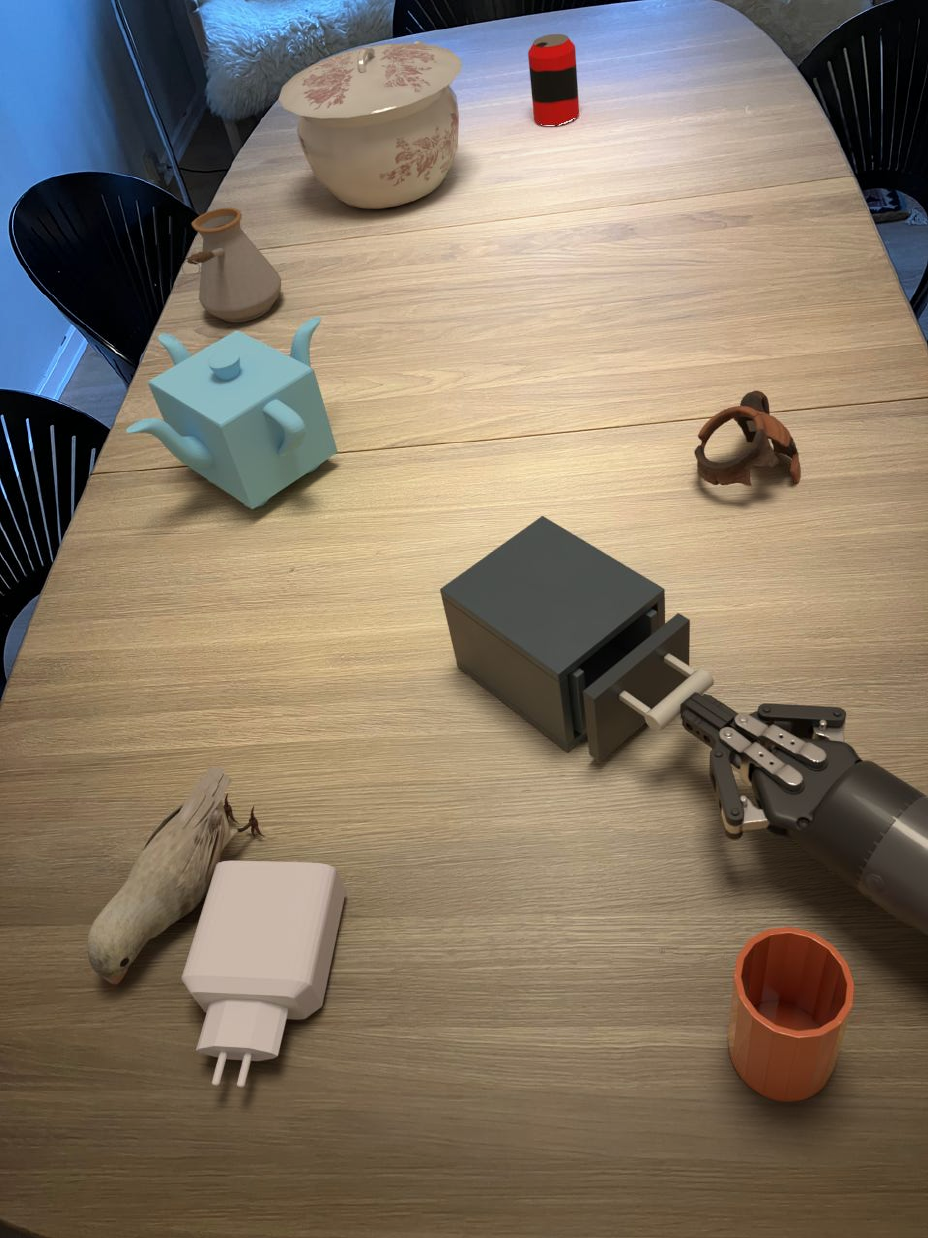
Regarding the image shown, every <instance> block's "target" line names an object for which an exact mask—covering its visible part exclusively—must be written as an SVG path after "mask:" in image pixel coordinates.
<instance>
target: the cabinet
mask: <svg viewBox="0 0 928 1238" xmlns="http://www.w3.org/2000/svg"><path fill="white" fill-rule="evenodd" d="M439 591H440V596H441V601H442V606H443V608H444V614H445V618H446V623H447V627H448V631H449V632H448V633H449V635H450V640H451V644H452V648H453V654H454V658H455V662H456V666H457V668H458V669H460V670H461V671H462V672H464V673H465V674H466V675H467V676H468V677H470V678H471V679H472V680H473V681H475V682H476V683H478V684H479V685H480V686H482V687H483V689H485V690H487V691H488V692H489V693H491V694H492V695H493V696H494V697H496V698H497V699H498V700H499V701H501V702H502V703H503V704H504V705H506V706H507V707H509V708H510V709H511V710H512V711H514V712H515V713H516V714H518V715H519V716H520V717H521V718H522V719H524V720H525V721H527V722H528V723H529V724H530V725H532V726H533V727H534V728H535V729H537V730H538V731H539V732H541V733H542V734H543V735H544V736H545V737H547V738H548V739H549V740H551V741H552V742H553V743H555V744H556V745H557V746H558V747H560V748H561V749H562V750H563V751H565V752H566V753H569V752H571V751H572V750H573V749H574V748H576V746H578V745H579V744H580V743H581V742H582V741H583V740H584V739H586V738H588V737H587V733H586V734H584V735H581V734H580V733H579V732H577V731H576V730H575V729H573V723H572V714H571V705H570V696H569V688H568V679H567V675H568V674H569V673H571V672H572V671H573V670H574V669H575V668H577V667H578V666H579V665H580V664H582V663H583V662H584V661H585V660H587V659H588V658H589V657H590V656H592V655H593V654H594V653H595V652H597V651H598V650H599V649H600V648H601V647H603V646H604V645H605V644H606V643H608V642H609V641H610V640H611V639H613V638H614V637H615V636H616V635H618V634H619V633H620V632H621V631H623V630H624V629H625V628H626V627H628V626H629V625H630V624H631V623H632V622H634V621H635V620H636V619H637V618H639V617H640V616H641V615H642V614H644V613H645V612H646V611H647V610H649V609H650V608H652V609H653V610H655V611H656V612H657V629H659V628H660V627H662V626H663V625H664V624H665V623H666V597H665V596H666V589H665V588H664V587H662V586H661V585H659V584H657V583H655V582H654V581H653V580H651V579H649V578H647V577H646V576H644V575H642V574H640V573H639V572H637V571H636V570H634V569H632V568H630V567H629V566H628V565H625V564H623V563H622V562H621V561H619V560H618V559H615V558H614V557H613V556H611V555H609V554H607V553H606V552H603V551H602V550H601V549H598V547H596V546H594V545H592V544H590V543H589V542H587V541H585V540H584V539H582V538H581V537H579V536H577V535H575V534H574V533H572V532H571V531H569V530H567V529H566V528H564V527H562V526H561V525H559V524H557V523H555V522H554V521H552V520H550V519H549V518H548V517H546V516H543V515H541V516H540V517H538V518H537V519H536V520H534V521H532V522H531V523H530V524H529V525H527V526H526V527H524V528H523V529H522V530H520V531H518V532H517V533H516V534H514V535H513V536H512V537H510V538H509V539H508V540H507V541H505V542H504V543H502V544H501V545H500V546H498V547H497V548H495V549H493V550H492V551H491V552H490V553H488V554H487V555H485V556H484V557H483V558H481V559H479V561H477V562H475V563H474V564H473V565H472V566H470V567H469V568H467V569H466V570H465V571H463V572H462V573H460V574H459V575H458V576H456V577H454V579H452V580H450V581H449V582H448V583H446V584H445V585H443V586H441V588H439Z"/></svg>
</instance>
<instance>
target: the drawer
mask: <svg viewBox="0 0 928 1238" xmlns="http://www.w3.org/2000/svg"><path fill="white" fill-rule="evenodd" d="M690 636H691V620H690V619H689V618H688V617H686V616H684V615H683V614H682V613H679V612H678V613H676V614H675V615H674V616H673V617H671V618H670V619H669V620H668V621H666V622H665V624H664V625H663V626H662V627H660V628H659V629H657V612H656V611H655V610H653V609H652V608H650V609H649V610H647V611H646V612H645V613H644V614H642V615H641V616H640V617H639V618H637V619H636V620H635V621H634V622H632V623H631V624H630V625H629V626H628V627H626V628H625V629H624V630H623V631H621V632H620V633H619V634H618V635H616V636H615V637H614V638H613V639H611V640H610V641H609V642H608V643H606V644H605V645H604V646H603V647H601V648H600V649H599V650H598V651H597V652H595V653H594V654H593V655H592V656H590V657H589V658H588V659H587V660H585V661H584V662H583V663H582V664H580V665H579V666H578V667H577V668H575V669H574V670H573V671H572V672H571V673H569V674H568V675H567V679H568V688H569V696H570V705H571V714H572V723H573V729H575V730H576V731H577V732H579V733H580V734H581V735H584V734H586V733H587V737H586V738H587V745H588V746H587V747H588V755H589V756H590V757H592V758H593V759H595V760H596V761H597V762H598V763H601V762H602V761H603V760H605V759H606V758H607V757H608V756H610V754H611V753H613V752H614V751H615V750H617V748H619V747H620V746H621V745H622V744H623V743H624V742H625V741H626V740H628V739H629V738H631V736H632V735H633V734H635V733H636V732H637V731H638V730H640V728H642V727H643V726H644V725H645V724H647V726H648V727H649V728H650V729H651V730H653V732H656V733H659V732H661V731H662V730H664V729H665V728H666V727H667V726H668V725H669V724H670V723H672V721H674V720H675V719H676V718H678V717H679V716H680V705H681V703H683V702H684V701H685V700H686V699H687V698H688V697H689V696H691V695H692V694H693V693H694V692H697V693H699V694H700V695H703V694H705V693H706V692H707V691H708V690H709V689H710V688H711V687H712V686H714V685H715V680H714V677H713V675H712V673H710V672H709V671H708V670H707V669H705V668H697V669H695V668H692V667H691V666H690V647H691V646H690V645H691V643H690V641H691V639H690V638H691V637H690Z"/></svg>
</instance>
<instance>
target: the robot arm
mask: <svg viewBox="0 0 928 1238" xmlns="http://www.w3.org/2000/svg"><path fill="white" fill-rule="evenodd" d="M679 716H680V719H681V725H682V727H683V729H684V730H685V731H686V732H688V733H689V734H691V735H692V736H693V737H695V738H696V739H698V740H699V741H700V742H701V743H703V744H705V745H706V746H707V747H709V748H711V750H710V752H709V762H708V763H709V764H708V769H709V770H708V776H709V780H710V784H711V787H712V792H713V795H714V799H715V803H716V806H717V810H718V814H719V819H720V821H721V826H722V829H723V832H724V835H725V837H726V838H727V839H729V840H732V841H736V840H739V839H741V838H742V837H743V834H744V832H745V831H753V830H762V829H766V830H767V831H768V832H769V833H770V834H772V835H773V836H776V837H778V838H785V839H788V840H790V841H792V842H794V843H796V845H798V847H799V848H801V849H802V851H804V852H805V853H806V855H808V856H809V857H811V858H812V859H813V860H815V861H816V862H818V863H819V864H820V865H821V866H823V867H824V868H826V869H827V870H829V871H830V872H831V873H833V874H834V875H835V876H837V877H839V879H841V880H842V881H844V882H845V883H846V884H847V885H849V886H850V887H852V888H854V889H855V890H856V891H857V892H858V893H860V894H862V895H863V896H865V897H866V898H867V899H869V900H870V901H872V902H873V903H874V904H876V905H877V906H878V907H880V908H881V909H882V910H884V911H886V913H888V914H890V915H891V916H893V917H895V918H896V919H897V920H899V921H900V922H902V923H904V924H906V925H908V926H910V927H911V928H913V929H915V930H917V931H919V932H921V933H922V934H924V935H925V936H927V937H928V795H926V793H923V792H921V791H920V790H919V789H917V788H915V787H914V786H912V785H911V784H910V783H908V782H906V781H904V780H903V779H901V778H900V777H898V776H897V775H895V774H893V773H892V772H890V771H889V770H887V769H886V768H884V767H882V766H880V765H879V764H878V763H876V762H874V761H872V760H863V759H862V758H861V757H860V756H859V754H858V753H857V751H856V749H855V748H854V747H853V746H852V745H850V744H849V743H848V742H846V739H845V738H846V737H845V728H846V723H847V722H846V719H847V712H846V710H845V709H844V708H842V707H839V706H823V705H805V704H786V703H783V704H782V703H768V702H767V703H761V704H759V705H758V707H757V710H756V711H753V712H751V713H746V712H741V713H739V712H737V711H735V710H734V709H732V708H731V707H729V706H727V705H726V704H725V703H723V702H722V701H720V700H718V698H716V697H714V696H712V695H711V694H707V693H703V694H702V695H700V694H699V693H697V692H694V693H693V694H692V695H691V696H689V697H688V698H687V699H686V700H685V701H684V702H683V703H681V705H680V714H679ZM733 770H734V771H735V772H736V773H737V774H738V776H739V777H740V779H741V781H742V782H744V783H745V784H746V785H747V786H748V787H750V788H751V791H752V794H753V797H754V800H755V802H756V805H757V807H756V806H754V804H753V802H752V800H750V799H749V798H748V797H747V796H746V795H741V796H740V792H739V788H738V785H737V781H736V778H735V775H734V771H733Z"/></svg>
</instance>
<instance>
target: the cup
mask: <svg viewBox="0 0 928 1238" xmlns="http://www.w3.org/2000/svg"><path fill="white" fill-rule="evenodd" d="M731 991H732V992H731V1002H730V1012H729V1021H728V1022H729V1023H728V1034H727V1044H728V1052H729V1057H730V1061H731V1063H732V1065H733V1067H734V1069H735V1071H736V1072H737V1074H738V1076H739V1077H740V1078H741V1079H742V1081H743V1082H744V1083H745V1084H746V1085H747V1086H748V1087H749V1088H751V1090H753V1091H755V1092H756V1093H758V1094H759V1095H762V1096H763V1097H766V1098H767V1099H771V1100H774V1101H778V1102H785V1103H786V1102H787V1103H790V1102H792V1103H793V1102H800V1101H804V1100H807V1099H809V1098H811V1097H814V1096H815V1095H816V1094H817V1093H819V1092H820V1091H821V1090H822V1089H823V1088H824V1087H825V1086H826V1085H827V1083H828V1082H829V1080H830V1078H831V1076H832V1074H833V1072H834V1070H835V1067H836V1063H837V1060H838V1056H839V1053H840V1050H841V1046H842V1043H843V1040H844V1036H845V1033H846V1030H847V1026H848V1022H849V1020H850V1016H851V1013H852V1009H853V1005H854V995H855V981H854V978H853V976H852V972H851V970H850V967H849V963H848V962H847V960H846V959H845V958H844V957H843V955H841V953H840V952H839V951H838V950H837V948H836V947H835V946H834V945H833V944H832V943H830V942H829V941H827V940H826V939H824V937H821V936H819V935H818V934H817V933H815V932H812V931H809V930H805V929H801V928H797V927H793V926H785V927H775V928H768V929H765V930H763V931H762V932H760V933H759V934H756V935H755V936H753V937H751V938H750V939H748V940H747V942H746V943H745V945H744V946H743V947H742V948H741V950H740V951H739V953H738V954H737V956H736V961H735V967H734V972H733V980H732V990H731Z"/></svg>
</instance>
